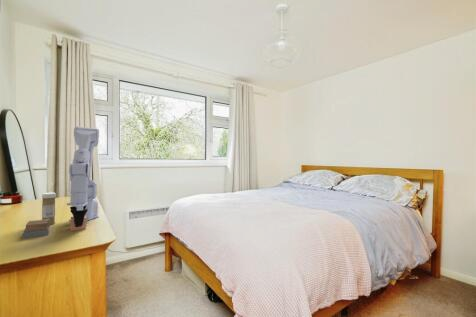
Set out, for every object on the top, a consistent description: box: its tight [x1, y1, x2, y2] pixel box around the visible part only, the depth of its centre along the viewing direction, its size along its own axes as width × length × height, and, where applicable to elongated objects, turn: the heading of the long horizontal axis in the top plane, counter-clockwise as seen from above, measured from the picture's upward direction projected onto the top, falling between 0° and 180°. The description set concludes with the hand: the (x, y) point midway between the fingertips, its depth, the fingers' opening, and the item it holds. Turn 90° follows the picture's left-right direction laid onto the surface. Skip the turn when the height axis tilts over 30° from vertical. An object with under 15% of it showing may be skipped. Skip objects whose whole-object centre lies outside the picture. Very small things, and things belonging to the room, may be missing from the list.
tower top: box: [25, 219, 50, 232], centre depth 86 cm, size 6×6×2 cm
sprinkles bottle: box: [41, 192, 57, 226], centre depth 98 cm, size 5×5×14 cm
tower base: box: [22, 226, 50, 239], centre depth 86 cm, size 7×7×2 cm
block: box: [70, 216, 87, 232], centre depth 93 cm, size 5×5×4 cm
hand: (78, 224), depth 93 cm, fingers closed on block, 5 cm apart
